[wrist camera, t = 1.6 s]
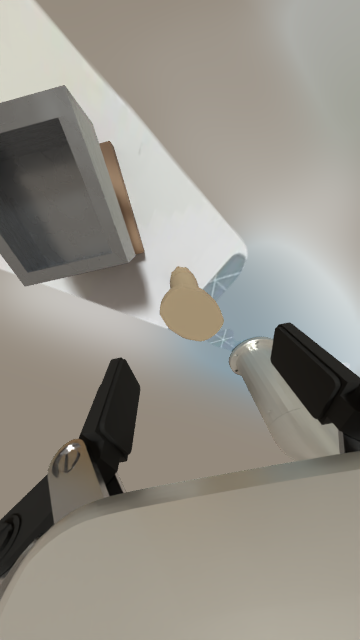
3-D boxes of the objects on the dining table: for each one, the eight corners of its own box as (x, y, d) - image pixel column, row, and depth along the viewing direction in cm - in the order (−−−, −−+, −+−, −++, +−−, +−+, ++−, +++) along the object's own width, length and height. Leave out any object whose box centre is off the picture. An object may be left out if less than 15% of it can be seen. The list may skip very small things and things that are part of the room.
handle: (185, 295, 30) (199, 348, 17) (157, 273, 27) (149, 316, 14) (202, 275, 28) (233, 318, 15) (175, 250, 26) (184, 276, 13)
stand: (144, 251, 25) (138, 257, 20) (73, 267, 26) (50, 277, 21) (113, 146, 19) (93, 117, 14) (21, 170, 20) (-31, 151, 14)
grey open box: (135, 255, 20) (128, 262, 16) (51, 275, 20) (24, 286, 17) (92, 123, 14) (64, 84, 10) (-25, 154, 15) (-94, 129, 11)
